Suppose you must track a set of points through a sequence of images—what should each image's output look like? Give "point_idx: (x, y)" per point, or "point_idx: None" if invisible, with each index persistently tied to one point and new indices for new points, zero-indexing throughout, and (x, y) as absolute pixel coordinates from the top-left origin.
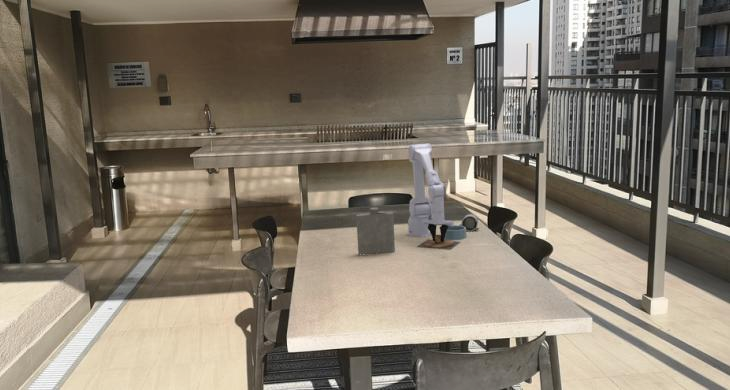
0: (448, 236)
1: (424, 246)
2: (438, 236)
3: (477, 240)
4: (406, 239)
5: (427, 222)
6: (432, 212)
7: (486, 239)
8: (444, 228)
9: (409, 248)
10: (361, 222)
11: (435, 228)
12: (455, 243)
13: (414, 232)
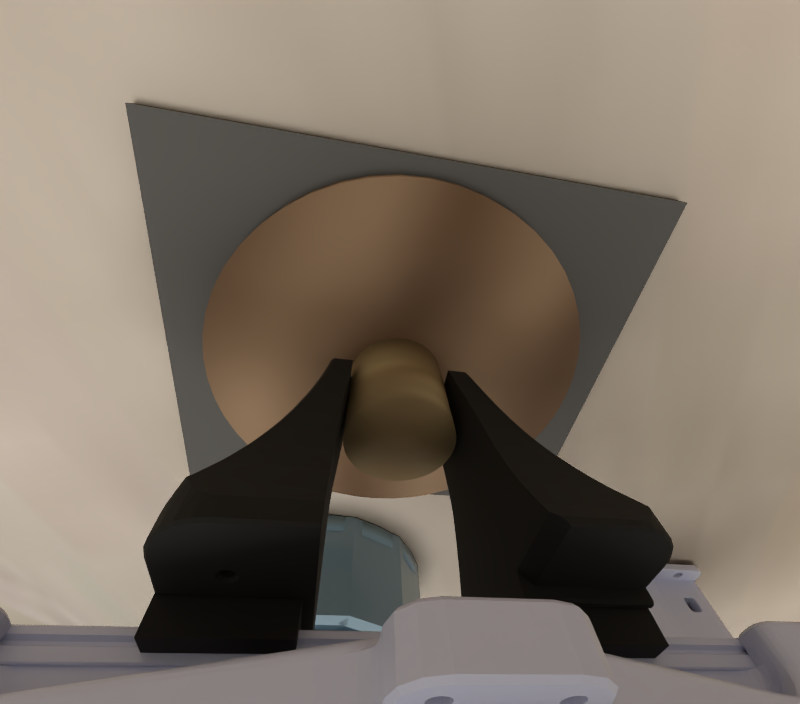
0: (340, 550)
1: (565, 244)
2: (386, 399)
3: (87, 542)
4: (726, 489)
5: (752, 698)
6: None
7: (33, 570)
8: (173, 494)
9: (779, 152)
10: None
11: (470, 570)
12: (216, 419)
13: (659, 597)
